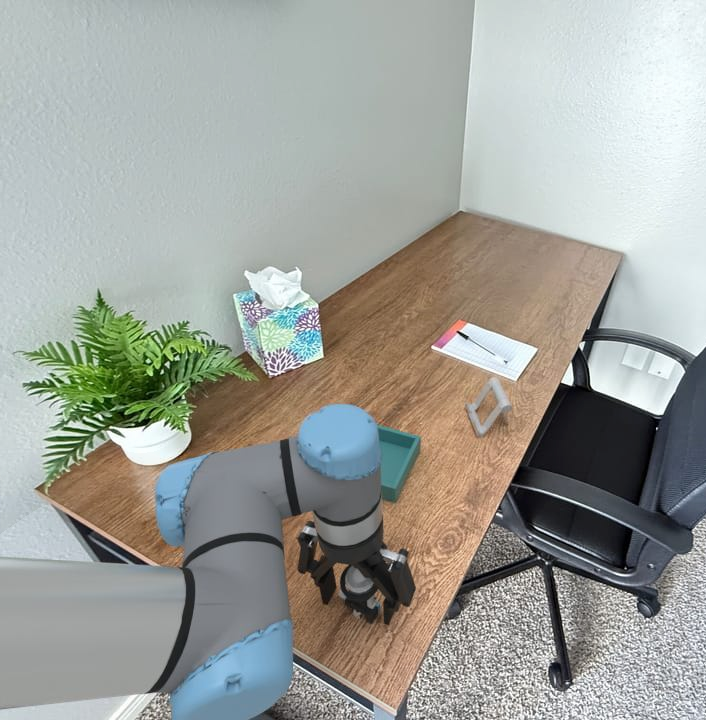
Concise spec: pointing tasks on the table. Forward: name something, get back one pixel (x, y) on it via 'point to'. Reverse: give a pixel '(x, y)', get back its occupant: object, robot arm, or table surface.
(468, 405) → the tablet stand
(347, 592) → the push button
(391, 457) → the tray
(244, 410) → the table surface
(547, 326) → the table surface
